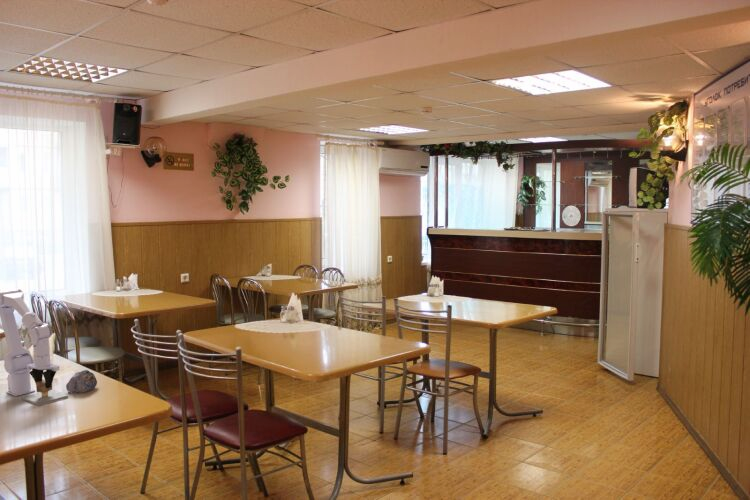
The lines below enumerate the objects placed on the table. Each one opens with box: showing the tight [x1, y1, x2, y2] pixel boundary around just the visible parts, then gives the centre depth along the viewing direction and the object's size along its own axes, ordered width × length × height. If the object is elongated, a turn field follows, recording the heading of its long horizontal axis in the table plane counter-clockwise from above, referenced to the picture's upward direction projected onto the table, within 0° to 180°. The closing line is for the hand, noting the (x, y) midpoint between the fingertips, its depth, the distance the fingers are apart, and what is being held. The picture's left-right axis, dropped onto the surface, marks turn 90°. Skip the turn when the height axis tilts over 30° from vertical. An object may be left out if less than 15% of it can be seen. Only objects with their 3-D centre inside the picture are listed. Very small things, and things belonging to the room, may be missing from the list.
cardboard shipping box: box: [35, 379, 53, 393], centre depth 255 cm, size 4×4×4 cm
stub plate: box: [21, 389, 69, 407], centre depth 256 cm, size 14×12×3 cm
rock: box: [65, 369, 98, 394], centre depth 266 cm, size 11×10×10 cm
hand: (44, 387), depth 255 cm, fingers open, 4 cm apart
